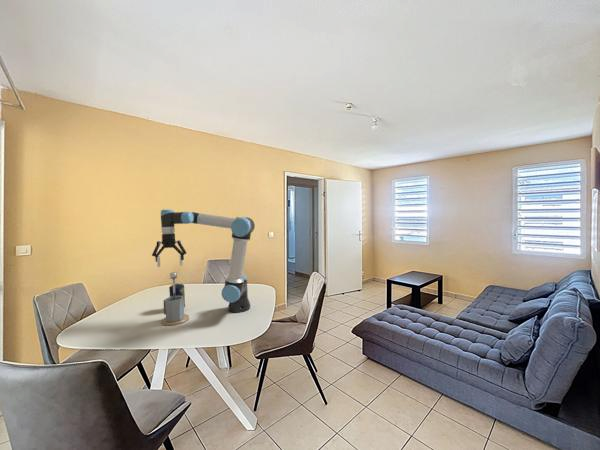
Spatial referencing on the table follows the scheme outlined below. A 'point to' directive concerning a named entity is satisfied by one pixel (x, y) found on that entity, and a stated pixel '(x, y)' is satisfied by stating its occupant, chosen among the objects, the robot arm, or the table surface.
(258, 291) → the table surface
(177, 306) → the press carafe
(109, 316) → the table surface
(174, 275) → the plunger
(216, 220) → the robot arm
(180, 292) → the canister
